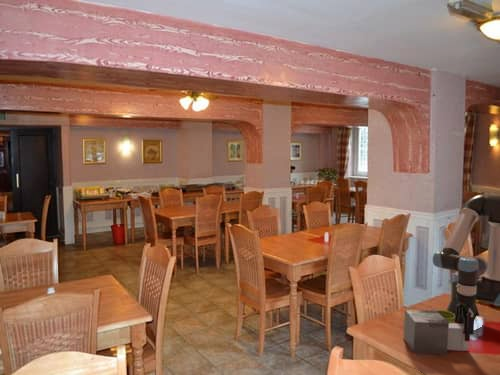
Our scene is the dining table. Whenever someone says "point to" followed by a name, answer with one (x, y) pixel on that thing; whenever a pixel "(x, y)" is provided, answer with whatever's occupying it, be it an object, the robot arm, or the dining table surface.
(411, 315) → the box
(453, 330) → the upright grey box
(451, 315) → the plant pot
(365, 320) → the dining table surface
